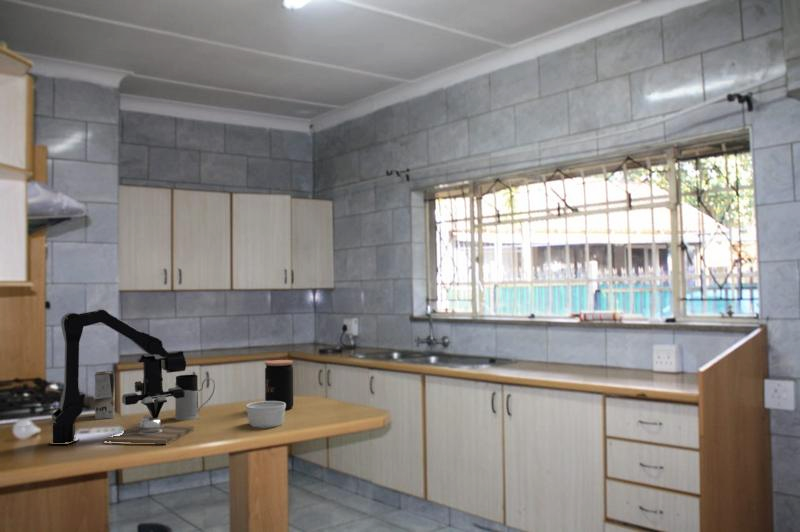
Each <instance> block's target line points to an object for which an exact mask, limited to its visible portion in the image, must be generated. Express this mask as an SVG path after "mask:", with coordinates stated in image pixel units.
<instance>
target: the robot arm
mask: <svg viewBox="0 0 800 532" xmlns="http://www.w3.org/2000/svg"><path fill="white" fill-rule="evenodd" d="M99 323H101V324H103V325H105V326H106V327H108V328H110V329H111V330H113V331H115V332H116V333H118V334H120V335H121V336H123V337H125V338H127V339H129V340H130V341H132V343H133V344H134V345H136V346H137V347H138V348H139V349H140V350H141V351H143V352H144V353H145V354H149V355H148V356H145V355H144V354H140V356H139V357H138V358H136V362H137V363H142V367H143V369H142V371H143V372H142V373H143V379H142V381H143V382H142V381H135V382H134V391H135V392H131V393H123V395H122V397H121V403H122V404H123V405H125V406H129V405H130V406H131V405H136V404H138V402H140V401H141V402H140V403H141V404H143V405H144V406H146V408H147V410H148V412H149V415H150V417H151V418H159V415H160V413H161V410H162V408H163V406H164V404H165V403H167V402H168V400H167V399H166V398H167V397H168V398H169V397H173V398H174V399H175V398H182V397H185V392H184V390H183V389H182V388H179V387H176V388H175V387H170V388H168V390H166V391H164V389H163V387H164V386H163V381H164V379H163V371H165V372H166V373H167V374H171V373H177V372H178V373H179V372H186V370H187V361H186V357H185V355H184V351H183V350H177V351H173V352H168V351H167V350H166V349H165V348H164V346H163V345H164V344H163V342H162V339H160V338H159V337H156V336H154V335H151V334H149V333H146V332H143V331H140V330H138V329H137V328H135V327H133V326H131V325H130V324H129V323H127V322H125V321H123V320H121V319H119V318H118V317H116V316H114V314H111V313H109V311H107V310H106V309H103V308H102V309H97V310H93V311H88V312H82V313H76V312H67V313H66V314H64V315H62V317H61V320H60V326H61V331H62V336H63V339H64V340H63V341H64V372H63V374H64V375H63V376H64V377H63V378H64V379H63V381H64V383H63V385H64V386H63V389H62V390H63V391H62V393H61V397H60V400H59V401H60V402H59V405H58V408H57V409H56V410H55V411H54V412H53V413H52V414H51V418H52V420H53V423H52V441H53V443H65V442H71V441H73V439H74V435H75V436H76V419H77V417H79V416H80V415H82V412H83V408H84V409H85V408H86V406H85V398H86V397H85V396H86V395H85V393H84V392H82V391H80V388H79V375H80V373H79V371H80V369H79V367H80V341H81V338H82V335H83V329H84V327H87V326H88V327H89V326H92V325H96V324H99ZM155 355H156V356H158V357H156V356H155ZM139 392H140V394H138V393H139Z"/></svg>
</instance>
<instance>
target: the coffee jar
mask: <svg viewBox="0 0 800 532" xmlns="http://www.w3.org/2000/svg"><path fill="white" fill-rule="evenodd" d="M293 364H294V360H291V359H275V360H267V361H265V362H264V365H265V368H264V374H265V375H264V387H265V389H264V399H265V400H264V401H280V402H284V403H286V408H285V411H289V410H291V409H293V407H294V367H293Z"/></svg>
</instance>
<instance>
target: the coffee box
mask: <svg viewBox="0 0 800 532" xmlns="http://www.w3.org/2000/svg"><path fill="white" fill-rule="evenodd" d="M115 377H116V376H115V370H108V371H106V370H103V371H96V372H95V374H94V419H95V420H103V419H114V416H115V409H116V407H115V404H116V403H115V401H116V399H115V398H116V397H115V396H116V395H115V391H116V389H115V387H116V386H115V382H116V381H115V380H116V379H115Z"/></svg>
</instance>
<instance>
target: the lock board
mask: <svg viewBox="0 0 800 532" xmlns="http://www.w3.org/2000/svg"><path fill="white" fill-rule="evenodd" d="M192 430H194V431H195V425H174V424H173V425H171V424H170V425H169V424H168V425H166V424H165V425H163V424H161V430H160V431H157V432H151V433H143V432H141V431H140V424H136V425H133V426H131V427H129V428H126V429H124V430H123V431H124V433H123V434H122V435H120V436H113V437H109V436H107V437H105V438H103V442H104V441H107V442H109V441H111V442H131V443H155V444H166V443H168V442H170V441H173V440H175V439H177V438H179V437H181V436H182V437H184V436H186V435H188V434H190V433H191V432H190V431H192ZM189 432H190V433H189ZM192 432H193V431H192ZM187 433H188V434H187ZM185 434H186V435H185ZM183 435H184V436H183ZM182 437H181V438H182ZM179 439H180V438H179ZM177 440H178V439H177ZM175 441H176V440H175ZM173 442H174V441H173Z"/></svg>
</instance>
